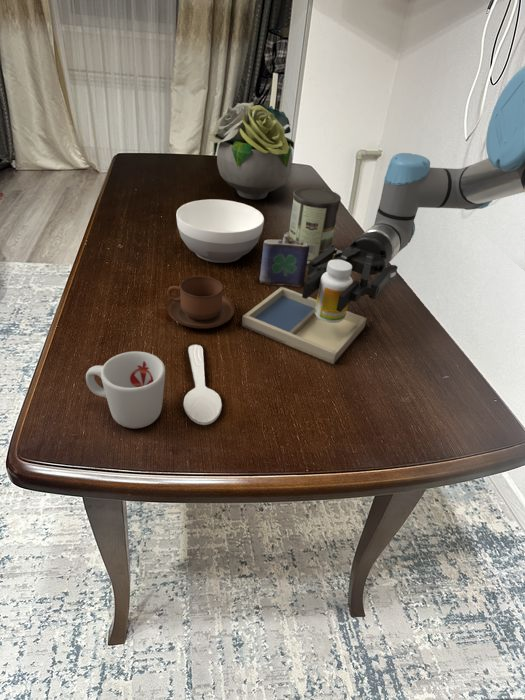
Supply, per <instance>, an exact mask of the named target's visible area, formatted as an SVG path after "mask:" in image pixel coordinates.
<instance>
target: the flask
mask: <svg viewBox="0 0 525 700" xmlns="http://www.w3.org/2000/svg"><path fill="white" fill-rule="evenodd" d="M283 234H284V235H283V237H282V239H265V240H264V241H263V244H262V254H261V255H262V256H261V264H260V274H259V282H260V284H264V285H275V286H287V287H288V286H292V287H303V286H304V283H305V278H306V271H307V265H308V264H307V259H308V253H309V244H307V243H306V242H302V241H301V240H298V241H297V240H293V239H292V238H291V237H290V232H289V231H287V232H283ZM299 241H300V242H299Z"/></svg>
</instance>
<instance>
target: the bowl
mask: <svg viewBox="0 0 525 700" xmlns="http://www.w3.org/2000/svg"><path fill="white" fill-rule="evenodd" d="M264 224H265V218H264V215H263V213H262V212H261V211H260V210H259V209H256V208H255V207H253V206H251V205H248V204H246V203H242V202H237V201H234V200H227V199H200V200H193V201H190V202H187V203H184V204H183V205H181V206H180V207H179V208H178V209H177V210H176V225H177V229H178V232H179V236H180V238H181V240H182V241H183V243H184V244H185V246H186V247H187V248H188V249H189V250H190V251H191V252H193V253H195V255H196V257H198V258H200V259H202V260H204V261H207V262H211V263H219V264H220V263H221V264H226V263H232V262H236V261H238V260H240V259H241V258H242V257H243V256H245V255H247V254H249V253H250V252H251V251H252V250H253V249H254V248H255V247H256V245H257V244H258V243H259V240H260V237H261V234H262V232H263V229H264Z"/></svg>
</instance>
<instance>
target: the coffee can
mask: <svg viewBox="0 0 525 700" xmlns="http://www.w3.org/2000/svg"><path fill="white" fill-rule="evenodd" d="M292 196H293V199H292V207H291V214H290V223H289V230H288V232H290V237H291V238H292V239H293V240H297V241H298V240H301V241H302V242H306V243H307V244H309V253H308V259H307V265H309V262H310V261H311V260H313V259H314V258H315V257H317V256H318V255H320V254H321V253H323V252H324V251H326V250H327V249H328V247H329V245H333V239H334V233H335V230H336V229H335V228H336V223H337V218H338V212H339V207H340V203H341V200H342V198H341V196H340V194H339V193H337V192H336V191H332V190H329V189H326V188H321V187H313V186H305V187H299V188H296V189H295V190H294V191H293V194H292ZM299 242H300V241H299Z"/></svg>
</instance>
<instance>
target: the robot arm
mask: <svg viewBox="0 0 525 700" xmlns="http://www.w3.org/2000/svg"><path fill="white" fill-rule="evenodd" d="M485 139H486V141H485V144H486V145H485V146H486V154H487V158H485V159H481V160H480V161H477V162H475V163H473V164H470V165H467V166H465V167H462V168H450V167H449V168H446V167H431V161H430V159H429V158H428V157H426V156H423V155H421V154H416V153H410V152H399V153H396V154H394V155H393V156H392V157H391V158H390V161H389V164H388V166H387V170H386V173H385V176H384V180H383V186H382V191H381V194H380V195H381V196H380V200H379V204H378V208H377V211H376V215H375V216H376V217H375V219H374V223H373V225H372V226H371V227H370V228H368V229H367V230H366V231H365V232H363V233H362V234H361V235H359V237H357V238H356V239H354V241H353V242H352V243H351V244H350V245H349V247H346V248H343V249H342V250H339V249H338V248H336V245H334V244H332V245H329V247H328V249H327V250H326V251H324V252H323V253H321V254H320V255H318V256H317V257H315V258H314V259H313V260H311V261H310V262H309V264H308V269H307V280H306V281H304V283H303V290H302V294H303V295H302V298H305V299H307V298H308V297H310V296H311V295H313V294H314V293H315V292H316V291H318V290H319V284H320V279H321V276H322V275H323V274H324V273H325V272H327V265H328V262H329V261H330V260H335V259H338V260H344V261H346V262H348V263H350V264H351V265H352V271H351V272H355V273H357V274H360V275H361V276H360V281H358V280H356V279H354V280H353V283H352V284H351V285H350V286H349V287H348V288H347V289H346V290H345V291H344V292H343V293H341V294H340V295H339V300H338V304H337V309H336V310H337V311H339V312H341V311H342V310H343V309H344V308H345V307H346V306H347V305H348V306H349V304H350V303H351V302H354V303H357V302H358V301H359V300H361V298H362V297H365V296H368V298H369V299H373V300H375V299H376V298H377V297H378V296H379V295H380V293H381V292H382V290H383V289H385V286H386V285H387V284H388V283H390V282H392V281H394V280H395V278H396V275H397V272H398V266H397V265H396V264H391V265H388V264H389V263H390V262H391V261H392V260H393V259H395V257H396V256H397V255H398V254H399V253H400V252H401V251H402V250H403V249H404V248H405V247H407V246H408V244H409V243H410V242H411V241H412V239H413V237H414V235H415V231H416V224H415V218H416V216H417V213H418V210H419V208H425V209H429V208H430V209H456V210H457V209H458V210H459V209H460V210H468V211H471V210H480V209H485V208H487V207H488V206H489V205H490V204H491V203H492V202H493V201H497V200H500V199H504V198H507V197H511V196H515V195H519V194H523V193H525V66H522V67H521V68H520V70H518V71H517V72H516V73H515V74H514V75H513V76H512V77H511V78H510V80H509V81H508V82H507V83H506V85H505V86H504V88H503V90H502V91H501V93H500V94H499V96H498V98H497V100H496V102H495V105H494V107H493V109H492V112H491V117H490V119H489V122H488V126H487V131H486V138H485ZM376 274H378V275H377V277H376V278H375V279H374V280H373V281H372V283H369V278H370V276H372V275H376Z"/></svg>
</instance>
